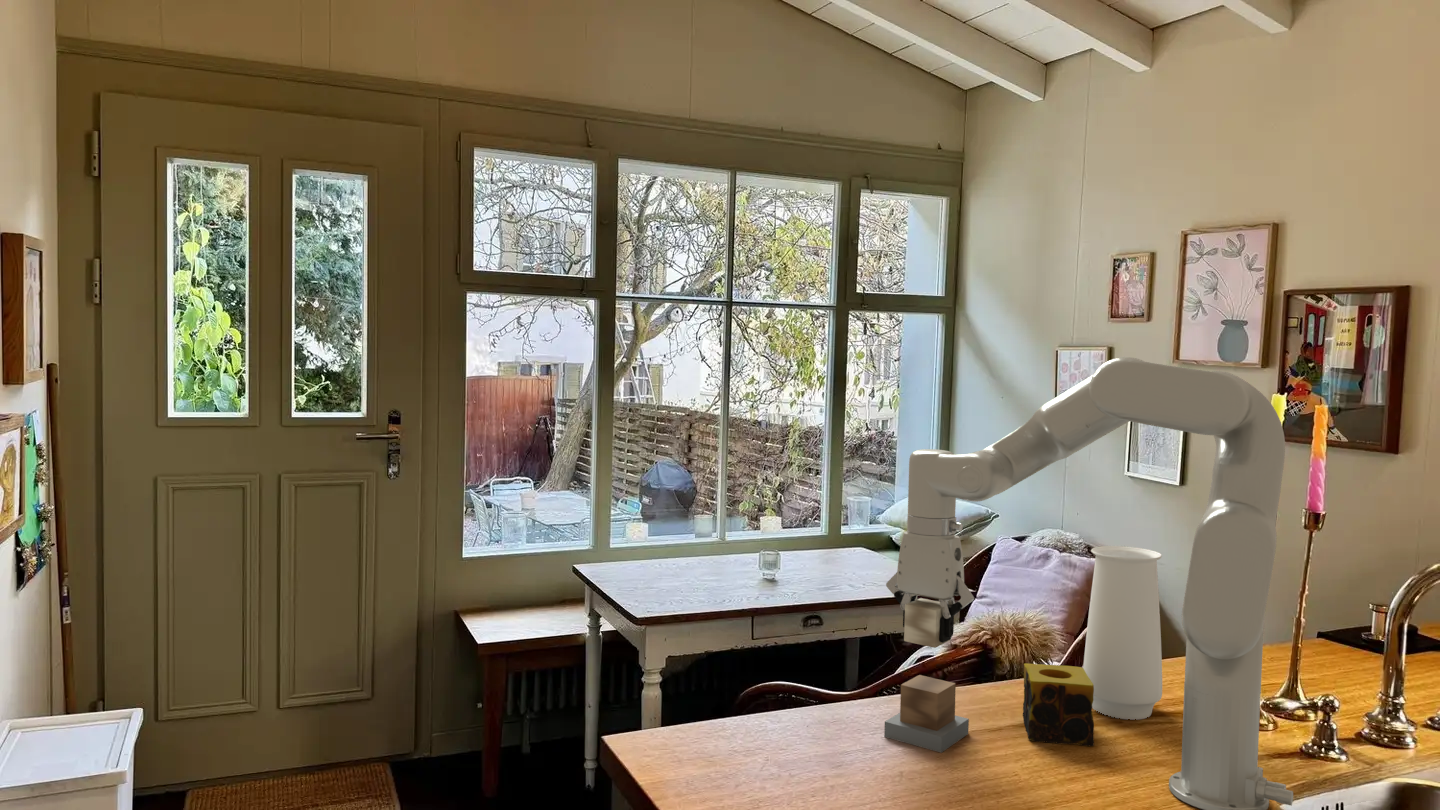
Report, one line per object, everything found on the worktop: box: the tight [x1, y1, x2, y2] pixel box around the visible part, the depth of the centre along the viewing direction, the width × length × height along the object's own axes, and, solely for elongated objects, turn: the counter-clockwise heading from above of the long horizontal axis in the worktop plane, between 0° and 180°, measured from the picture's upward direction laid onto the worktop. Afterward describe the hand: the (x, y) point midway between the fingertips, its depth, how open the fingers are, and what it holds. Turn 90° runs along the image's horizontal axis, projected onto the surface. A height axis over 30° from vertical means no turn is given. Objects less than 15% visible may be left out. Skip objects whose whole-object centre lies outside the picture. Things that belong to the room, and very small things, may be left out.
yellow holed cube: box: [1022, 662, 1095, 747], centre depth 161 cm, size 10×10×10 cm
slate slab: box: [883, 712, 970, 754], centre depth 159 cm, size 10×10×2 cm
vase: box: [1082, 545, 1163, 721], centre depth 172 cm, size 13×13×28 cm
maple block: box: [903, 597, 952, 649], centre depth 159 cm, size 6×6×6 cm
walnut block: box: [899, 674, 957, 731], centre depth 159 cm, size 6×6×6 cm
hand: (927, 635), depth 159 cm, fingers closed on maple block, 5 cm apart
